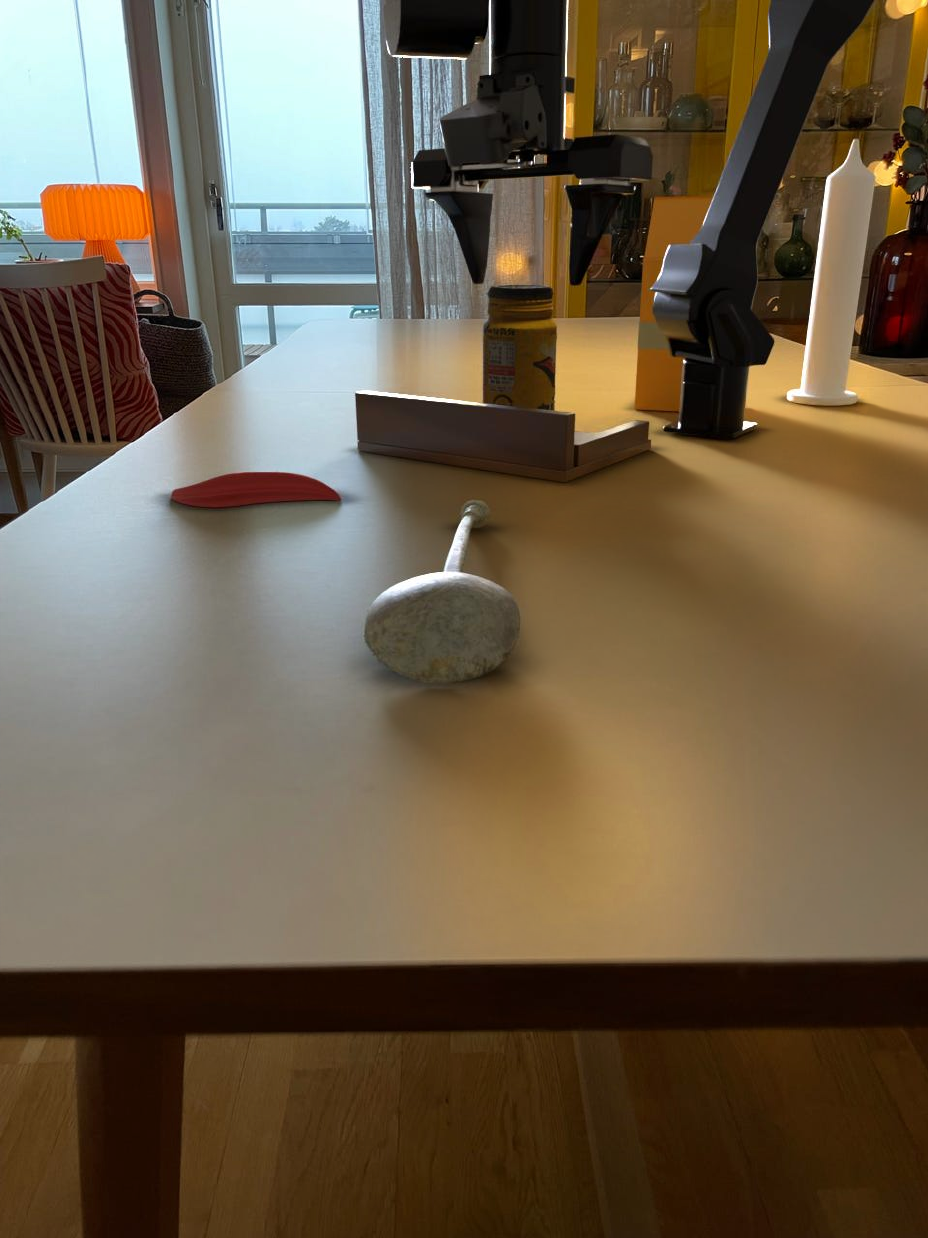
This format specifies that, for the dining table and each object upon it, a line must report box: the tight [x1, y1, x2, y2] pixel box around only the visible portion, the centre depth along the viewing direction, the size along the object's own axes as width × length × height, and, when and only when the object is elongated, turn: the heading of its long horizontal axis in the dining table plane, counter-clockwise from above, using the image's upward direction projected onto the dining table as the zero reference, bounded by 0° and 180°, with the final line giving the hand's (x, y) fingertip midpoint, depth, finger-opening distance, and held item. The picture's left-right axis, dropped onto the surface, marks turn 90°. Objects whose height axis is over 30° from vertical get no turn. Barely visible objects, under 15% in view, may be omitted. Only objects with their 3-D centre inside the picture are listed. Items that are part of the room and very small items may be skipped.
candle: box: [786, 138, 876, 407], centre depth 95 cm, size 7×7×25 cm
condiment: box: [482, 284, 558, 411], centre depth 76 cm, size 7×8×12 cm
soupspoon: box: [363, 499, 521, 684], centre depth 46 cm, size 22×3×7 cm
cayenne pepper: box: [170, 471, 342, 508], centre depth 63 cm, size 12×5×2 cm, turn 78°
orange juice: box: [633, 195, 714, 412], centre depth 94 cm, size 8×9×20 cm
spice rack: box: [354, 390, 652, 483], centre depth 77 cm, size 14×20×5 cm
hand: (525, 284), depth 75 cm, fingers open, 9 cm apart
